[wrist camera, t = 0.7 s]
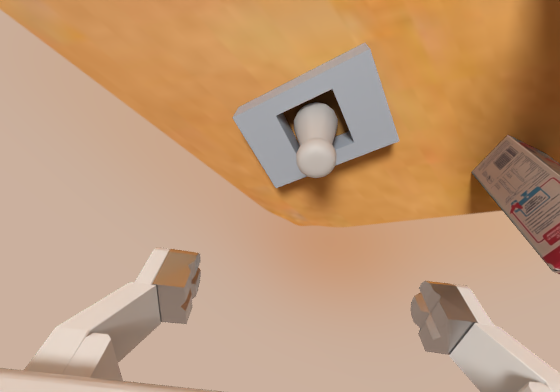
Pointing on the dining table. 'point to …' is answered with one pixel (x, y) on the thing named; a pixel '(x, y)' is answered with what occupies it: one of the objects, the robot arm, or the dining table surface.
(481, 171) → the juice carton
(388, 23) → the dining table surface
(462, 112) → the dining table surface
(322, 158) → the salt shaker
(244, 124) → the socket board
